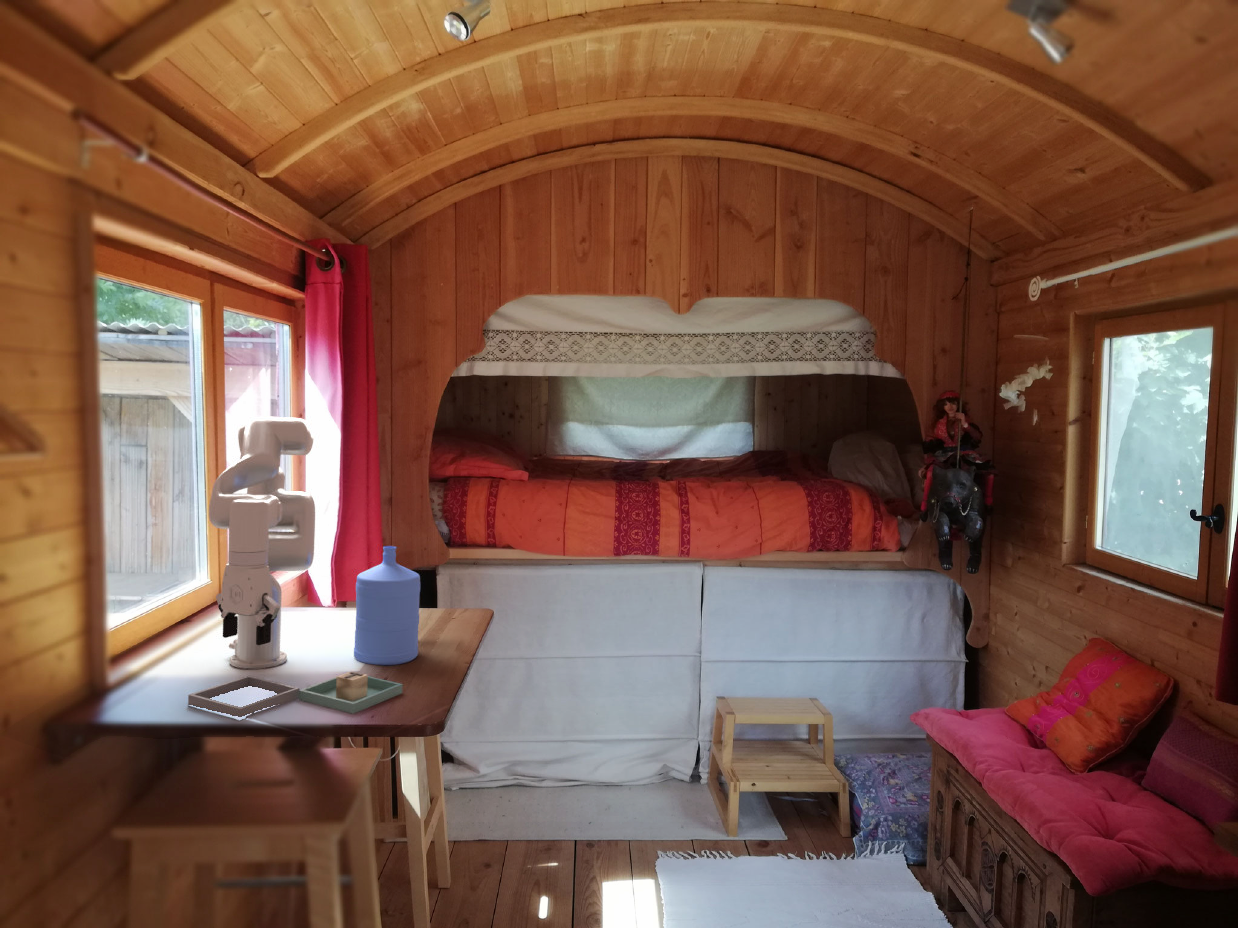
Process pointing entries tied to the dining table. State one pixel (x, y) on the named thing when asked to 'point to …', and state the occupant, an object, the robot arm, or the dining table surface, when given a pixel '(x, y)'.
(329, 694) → the green tray
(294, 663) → the dining table surface
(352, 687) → the letter cube
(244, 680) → the brown tray
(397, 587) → the water jug
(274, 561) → the robot arm
